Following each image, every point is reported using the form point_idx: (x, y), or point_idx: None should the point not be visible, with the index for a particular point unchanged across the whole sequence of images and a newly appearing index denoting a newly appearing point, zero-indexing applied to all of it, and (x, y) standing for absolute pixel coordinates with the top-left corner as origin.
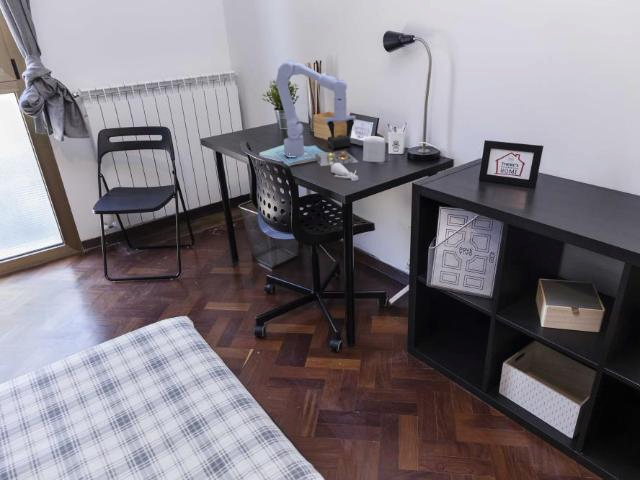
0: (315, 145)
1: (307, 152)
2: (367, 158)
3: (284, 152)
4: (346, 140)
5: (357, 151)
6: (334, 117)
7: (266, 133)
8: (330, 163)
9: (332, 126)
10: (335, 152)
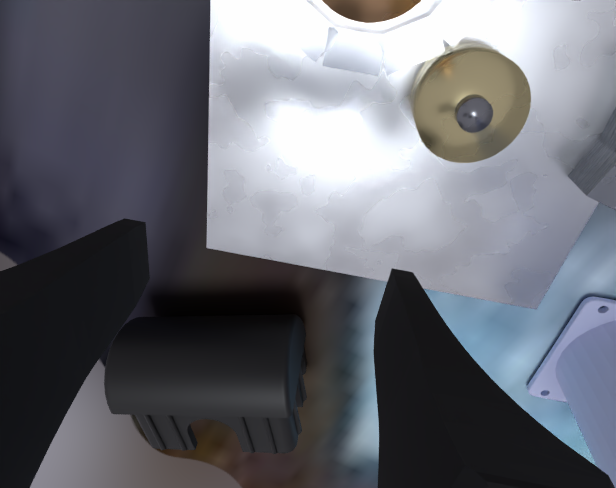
0: (345, 453)
1: (488, 375)
2: None
3: None
4: (148, 350)
5: (104, 215)
6: None
7: None
8: None
9: (500, 435)
10: (315, 243)
